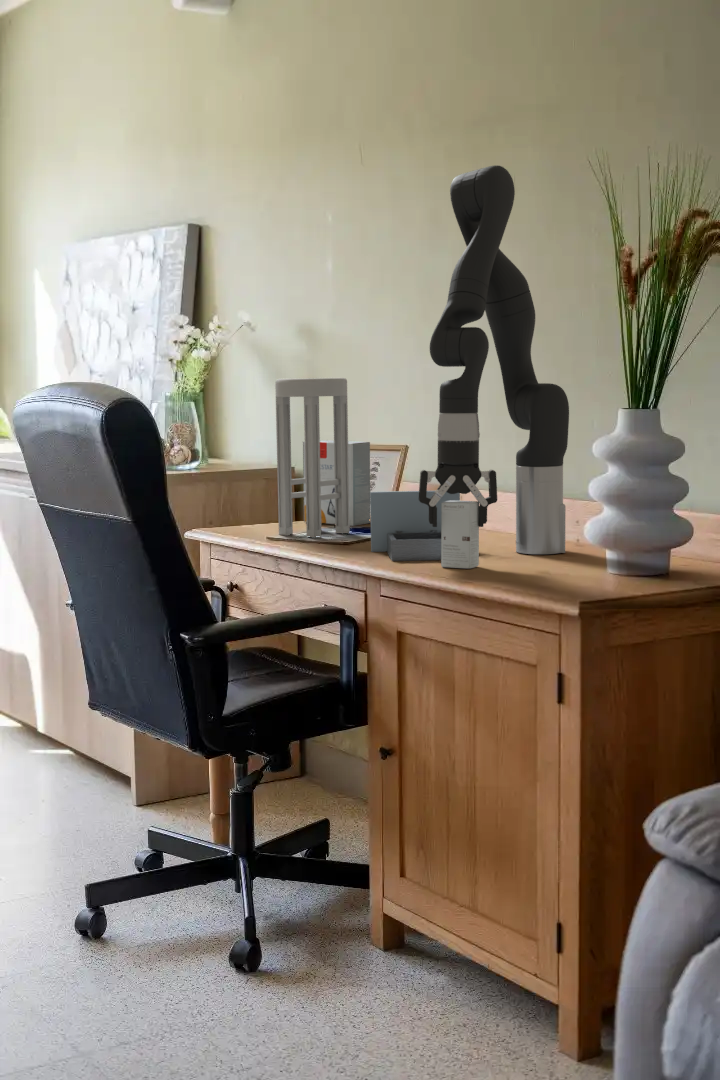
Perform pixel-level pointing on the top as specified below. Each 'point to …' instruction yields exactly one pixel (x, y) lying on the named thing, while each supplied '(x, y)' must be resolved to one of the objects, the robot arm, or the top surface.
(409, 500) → the backboard
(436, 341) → the robot arm
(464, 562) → the skincare box
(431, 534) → the grey open tray
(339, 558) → the top surface
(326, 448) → the hard drive box
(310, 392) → the stool
